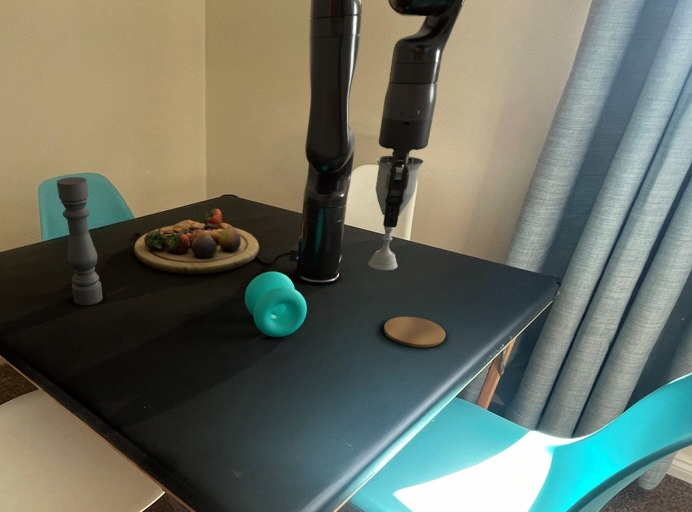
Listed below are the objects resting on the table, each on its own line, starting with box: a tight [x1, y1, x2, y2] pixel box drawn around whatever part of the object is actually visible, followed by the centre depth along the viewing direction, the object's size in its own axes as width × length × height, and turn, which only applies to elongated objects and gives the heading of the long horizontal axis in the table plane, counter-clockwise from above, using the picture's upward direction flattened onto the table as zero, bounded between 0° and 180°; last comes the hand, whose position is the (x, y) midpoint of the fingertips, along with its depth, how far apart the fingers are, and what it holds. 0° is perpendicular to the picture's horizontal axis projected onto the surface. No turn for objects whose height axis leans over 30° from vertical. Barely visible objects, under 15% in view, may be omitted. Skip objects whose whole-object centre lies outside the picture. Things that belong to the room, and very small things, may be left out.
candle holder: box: [56, 176, 104, 306], centre depth 113 cm, size 6×6×25 cm
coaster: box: [383, 316, 446, 348], centre depth 105 cm, size 11×11×1 cm
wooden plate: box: [133, 208, 260, 275], centre depth 140 cm, size 32×32×8 cm
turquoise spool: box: [244, 271, 308, 338], centre depth 105 cm, size 10×10×10 cm
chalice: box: [367, 155, 424, 271], centre depth 94 cm, size 7×7×18 cm
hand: (390, 220), depth 95 cm, fingers closed on chalice, 5 cm apart
